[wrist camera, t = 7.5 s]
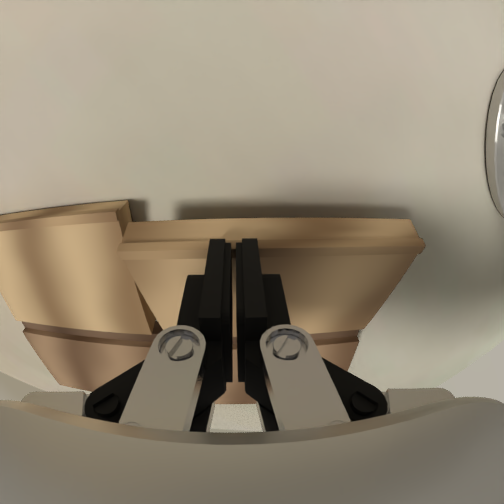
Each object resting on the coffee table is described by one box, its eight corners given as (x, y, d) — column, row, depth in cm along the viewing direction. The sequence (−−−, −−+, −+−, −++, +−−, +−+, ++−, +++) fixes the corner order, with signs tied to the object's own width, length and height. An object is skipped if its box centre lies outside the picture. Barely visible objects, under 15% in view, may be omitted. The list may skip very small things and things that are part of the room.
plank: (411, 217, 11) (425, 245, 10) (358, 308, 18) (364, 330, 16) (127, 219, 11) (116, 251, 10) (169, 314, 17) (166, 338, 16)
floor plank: (355, 316, 18) (362, 333, 17) (332, 381, 22) (336, 396, 21) (26, 311, 17) (18, 324, 16) (64, 371, 22) (59, 384, 20)
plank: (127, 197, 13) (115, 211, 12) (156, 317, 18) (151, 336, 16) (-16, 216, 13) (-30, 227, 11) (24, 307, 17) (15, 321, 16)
